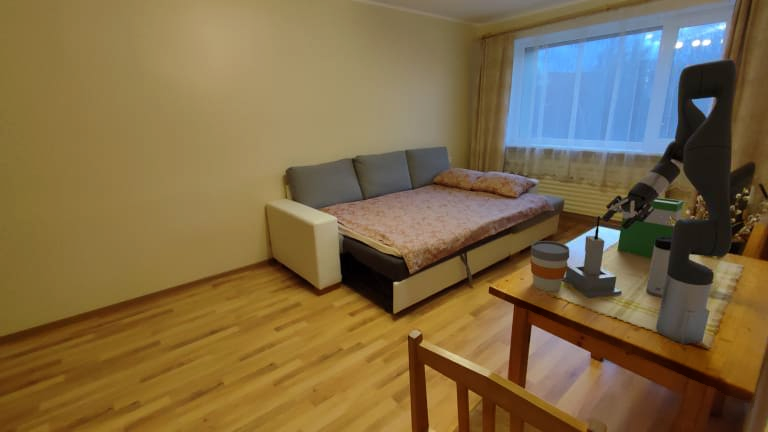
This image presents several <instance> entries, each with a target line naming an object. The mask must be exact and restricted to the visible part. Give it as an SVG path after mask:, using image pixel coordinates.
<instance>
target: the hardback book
mask: <svg viewBox="0 0 768 432" xmlns="http://www.w3.org/2000/svg"><path fill="white" fill-rule="evenodd" d="M650 205H651V206H652V207H653V208H654V211H653V212H652V213H651V214H650V215H649V216H648V217H647V218H646V219H645V220H644V221H643V222H640V221H637V222H634V223H633V224H632V225H631V226H630V227H629V228H628V229H626V230H625V229H623V228H622V227H621V226H620V232H619V237H618V244H617V251H619V252H623V251H624V252H623V253H627V254H632V255H636V256H641V257H644V258H649V259H652V256H653V250H654V245H655V241H656V238H661V237H671V238H672V233H673V228H674V226H673V225H671V223H670V224H669V222H670V221H671V219H670V218H669V217H670V216H672V217H674V218H675V219H676V220H677V221H678V220H679V219H681V215H682V209H683V205H684V200H681V199H672V198H663V197H657V198H656V199H655V200H654V201H653V202H652V203H651V204H650ZM640 212H641V211H640ZM642 216H643V215H642ZM661 216H662V217H661ZM621 217H622V218H621V224H622V223H623V222H624V221H625V220H626V219H627V218H628V217H629V218H630V213H629V212H622V216H621ZM659 217H660V218H659ZM666 220H667V222H668V221H669V222H668V223H666Z"/></svg>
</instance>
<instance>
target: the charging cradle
mask: <svg viewBox="0 0 768 432" xmlns="http://www.w3.org/2000/svg"><path fill="white" fill-rule="evenodd" d="M583 268H584V263H580V264H579V263H578V264H571V265H569V264H568V265H567V269H566V273H565V276H564V277H563V279H562V281H564V282H565V283H567V284H568V285H570V286H571V287H573V288H574V289H575V290H577V291H578V292H579V293H581V294H582V295H583V296H585V297H586V298H588V299H593V298H602V297H609V296H618V295H619V296H620V295H622V290H621V289H620V288H617V287H616V281H617V275H615V274H613V273H612V272H611V271H608V270H606V269H605V268H604V267H601V270H600V275H598V276H588V275H587V274H585V273H583Z"/></svg>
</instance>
